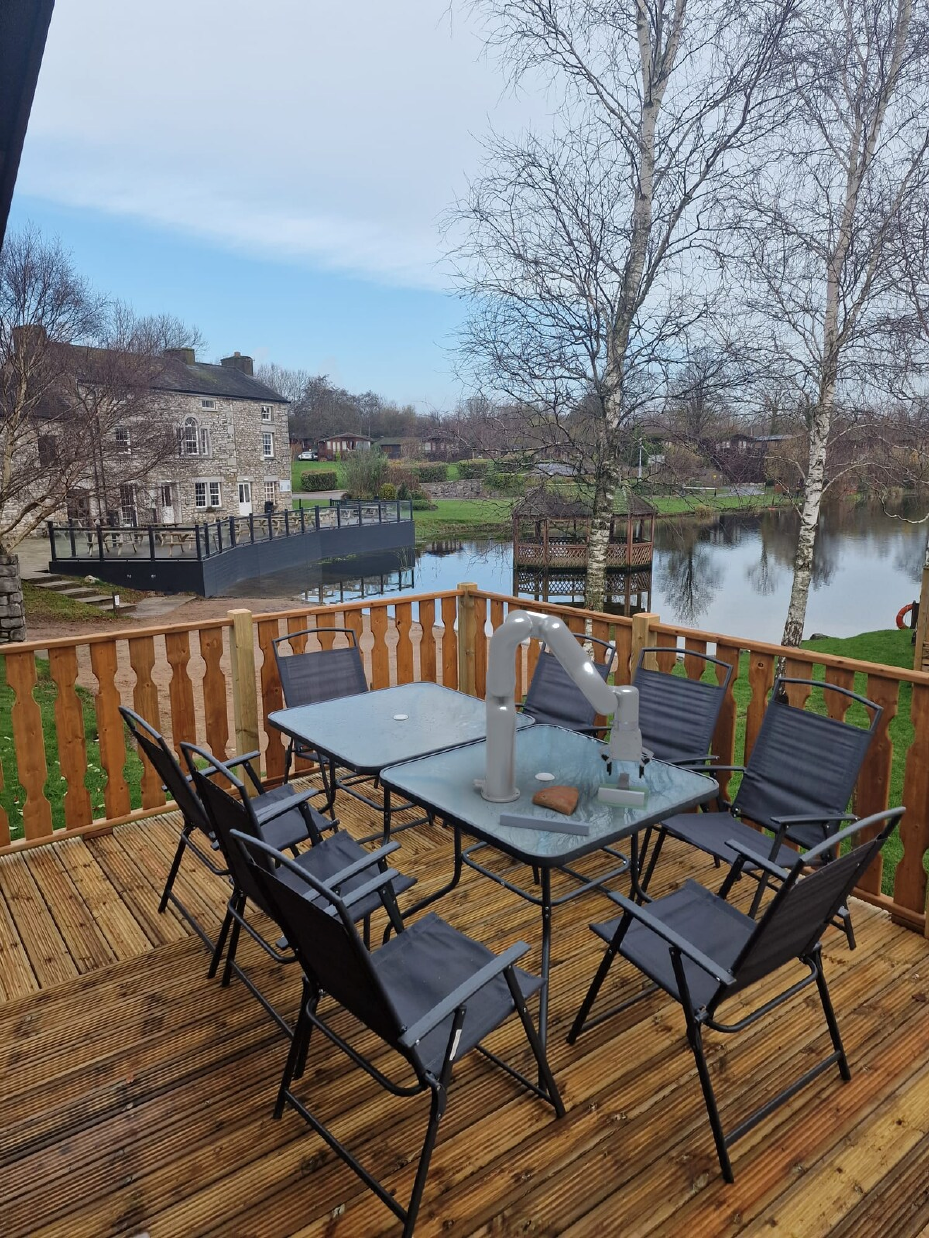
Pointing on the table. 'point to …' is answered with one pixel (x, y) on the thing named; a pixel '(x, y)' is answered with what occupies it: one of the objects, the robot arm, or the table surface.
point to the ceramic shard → (558, 798)
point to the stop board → (544, 823)
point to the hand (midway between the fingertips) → (625, 775)
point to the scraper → (621, 793)
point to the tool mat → (631, 788)
